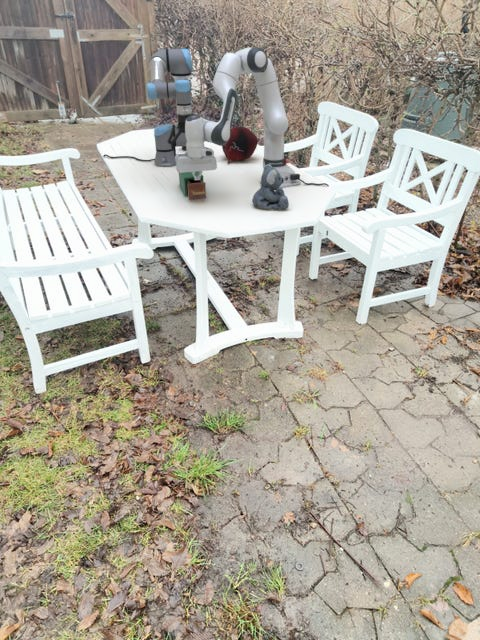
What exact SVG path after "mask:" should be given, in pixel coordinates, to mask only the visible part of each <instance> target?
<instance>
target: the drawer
mask: <svg viewBox="0 0 480 640" xmlns="http://www.w3.org/2000/svg"><path fill="white" fill-rule="evenodd" d="M186 186H187V193H188V196H187V197H188V200H198V199H199V200H200V199H207V190H206V189H207V188H206V182H205V181H203V182H202V181H201V179H200V180H194V179H188V180H186Z"/></svg>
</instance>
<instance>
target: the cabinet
mask: <svg viewBox="0 0 480 640" xmlns="http://www.w3.org/2000/svg"><path fill="white" fill-rule="evenodd" d="M194 175H195V176H198V175H199V171H197V172H195V174H194ZM188 179H194V176H193V174H192V172H185V173H178V180H179V187H180V189H181V191H182V193H183V195H184V196H185V197H188V193H187V186H186V180H188ZM200 179H201V181H202V182H204V175H203V174H202V175H201V177H200Z"/></svg>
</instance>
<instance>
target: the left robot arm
mask: <svg viewBox="0 0 480 640" xmlns="http://www.w3.org/2000/svg"><path fill="white" fill-rule="evenodd" d="M148 68H149V71H150V82H148V83H146V94H147V98H148V99H149V100H164V99H168V100H169V99H175V105H176V117H177V121H176V123H175V124H174V123H172V124H170V123H169V124H168V123H166V124H161V125H158V126H156V127H155V128H154V129H153V133H154V134H153V136H154V142H155V143H154V145H155V155H154V158H152V159H151V158H150V159H142V158H137V157H136V156H131V155H119V156H111V155H108V154H106V153H105V154H103V156H102V157H103V158H105V157H108V158H109V159H122V158H128V159H135V160H137V161H140V162H153V161H154V165H155V166H157V167H163V168H164V167H165V168H167V167H168V168H169V167H174V166H176V161H175V155H176V154H177V150H176V149H177V147H179V148H180V147H181V146H186V143H187V139H186V136H185V122H186V119H187V118H188V117H189V116H191V115H193V114H192V113H193V110H192V100H191V99H192V94H191V83H190V78H191V76H192V72H194V66H193V60H192V55H191V51H190V49H188V48H162V49H159V50H157V51H156V52H154V53H153V54H152V55H151V56H150V57H149V61H148ZM166 73H170V74H171V77H172V78H173V80H174V81H173V82H171V81H170V82H166Z"/></svg>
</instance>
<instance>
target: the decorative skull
mask: <svg viewBox="0 0 480 640" xmlns="http://www.w3.org/2000/svg"><path fill="white" fill-rule="evenodd" d="M258 141H259V140H258V137H257V135H256V134H255V133H254V132H253V131H252V130H250V129H249V128H248V127H244V126H234V127H231V135H230V139H229V141H228V142H227V143H226V144H225V145H223V146H221V148H222V152H223V154H224V156H225V159H226V160H227V164H228V165H229V164H230V161H232V162H244V161H246V160H248V159H250V158H251V157H252V156H253V155H254V153H255V152H256V149H257V146H258V143H259V142H258Z"/></svg>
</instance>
